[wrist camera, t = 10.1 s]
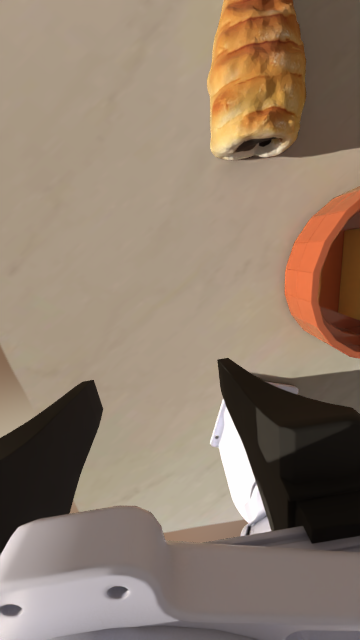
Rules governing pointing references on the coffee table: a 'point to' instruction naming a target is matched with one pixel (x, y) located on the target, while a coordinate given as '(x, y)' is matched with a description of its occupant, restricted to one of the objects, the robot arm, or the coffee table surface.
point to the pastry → (256, 79)
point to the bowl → (324, 274)
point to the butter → (350, 275)
